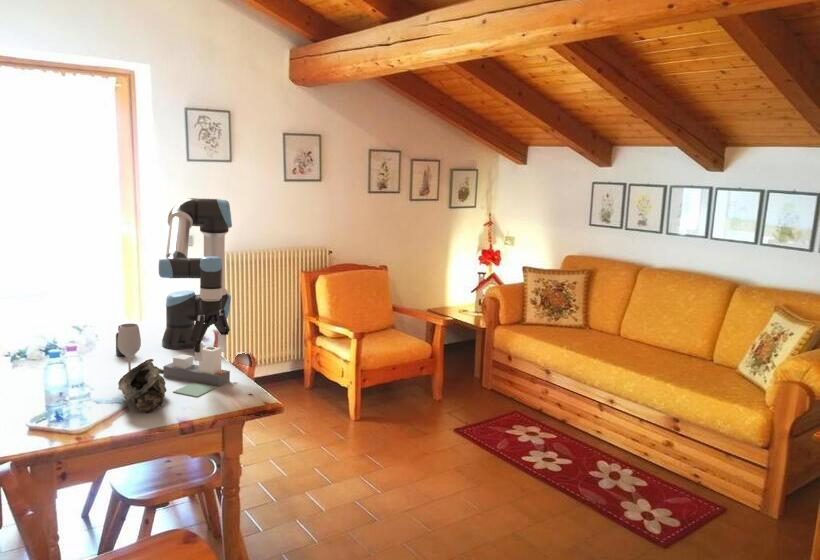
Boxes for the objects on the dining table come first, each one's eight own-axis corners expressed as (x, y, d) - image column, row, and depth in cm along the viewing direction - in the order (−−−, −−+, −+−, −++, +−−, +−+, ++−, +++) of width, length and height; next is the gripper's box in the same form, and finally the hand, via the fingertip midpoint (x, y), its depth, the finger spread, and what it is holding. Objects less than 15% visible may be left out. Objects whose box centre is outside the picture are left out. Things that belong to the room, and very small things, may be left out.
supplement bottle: (112, 355, 259) (111, 327, 257) (122, 351, 266) (122, 323, 264) (127, 357, 258) (127, 328, 256) (137, 353, 265) (137, 324, 263)
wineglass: (136, 377, 236) (135, 321, 232) (144, 383, 231) (144, 326, 227) (115, 381, 231) (113, 324, 227) (123, 387, 225) (122, 329, 222)
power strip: (148, 373, 241) (148, 362, 240) (160, 368, 247) (160, 357, 247) (218, 387, 231) (218, 375, 231) (229, 381, 238) (229, 369, 237)
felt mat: (193, 383, 233) (193, 382, 233) (216, 387, 230) (216, 386, 230) (173, 392, 223) (173, 391, 223) (197, 397, 220) (197, 396, 220)
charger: (207, 371, 239) (207, 345, 238) (221, 374, 237) (221, 347, 236) (199, 375, 235) (199, 348, 233) (212, 378, 233) (213, 350, 231)
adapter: (181, 366, 243) (181, 354, 242) (192, 368, 241) (192, 356, 240) (173, 370, 238) (173, 357, 237) (184, 372, 237) (184, 359, 236)
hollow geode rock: (149, 433, 201) (184, 397, 203) (116, 409, 195) (153, 373, 197) (146, 399, 226) (178, 368, 228) (117, 377, 220) (150, 345, 222)
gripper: (222, 292, 244) (222, 346, 247) (179, 303, 221) (179, 363, 224) (239, 295, 242) (238, 349, 245) (197, 306, 218) (197, 366, 222)
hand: (210, 356), depth 234 cm, fingers open, 13 cm apart
